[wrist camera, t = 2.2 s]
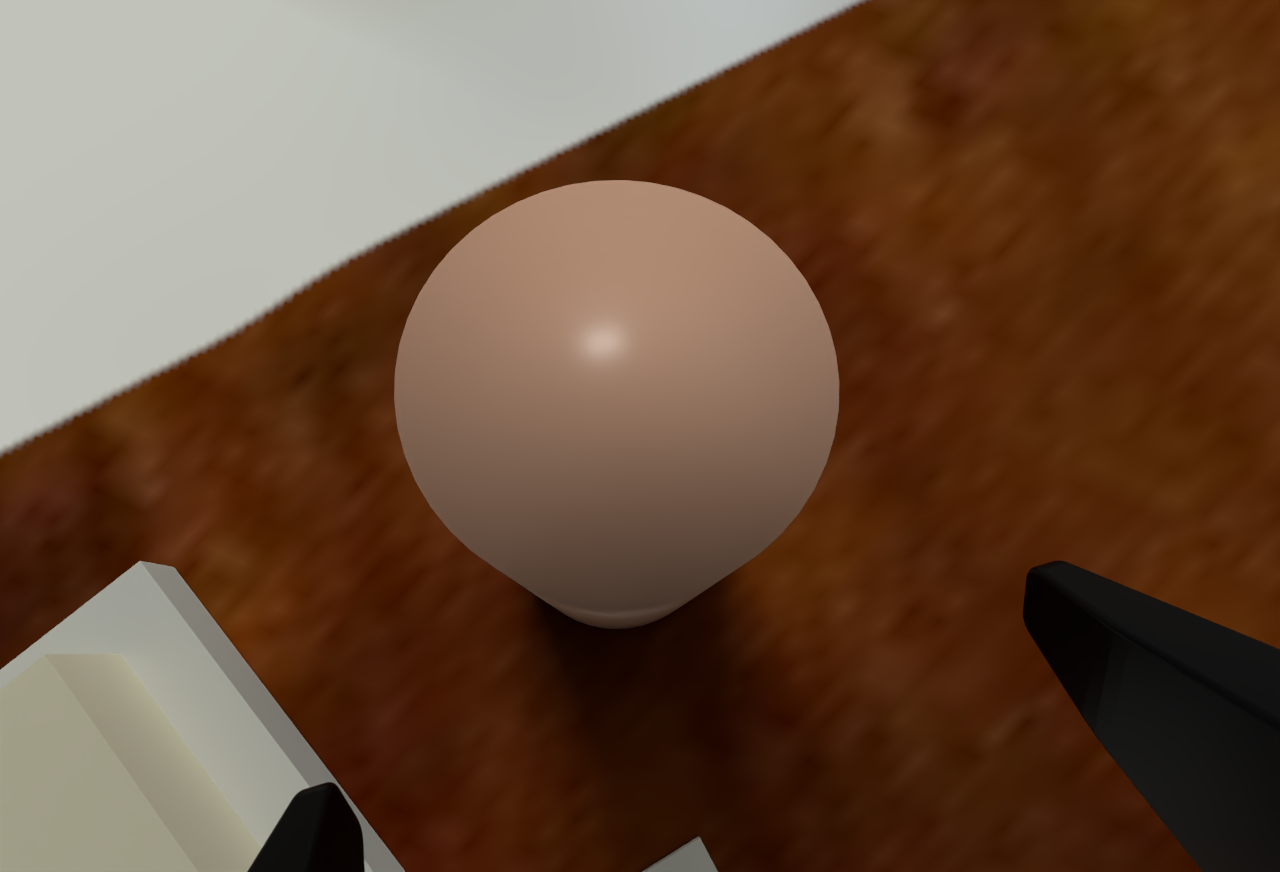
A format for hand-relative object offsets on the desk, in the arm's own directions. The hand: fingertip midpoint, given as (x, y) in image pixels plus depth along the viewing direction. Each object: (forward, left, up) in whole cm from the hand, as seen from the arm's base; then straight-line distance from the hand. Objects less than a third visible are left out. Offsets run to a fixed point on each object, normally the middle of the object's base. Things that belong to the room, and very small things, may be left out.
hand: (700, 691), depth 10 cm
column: (+3, +2, -10) cm, 11 cm away
